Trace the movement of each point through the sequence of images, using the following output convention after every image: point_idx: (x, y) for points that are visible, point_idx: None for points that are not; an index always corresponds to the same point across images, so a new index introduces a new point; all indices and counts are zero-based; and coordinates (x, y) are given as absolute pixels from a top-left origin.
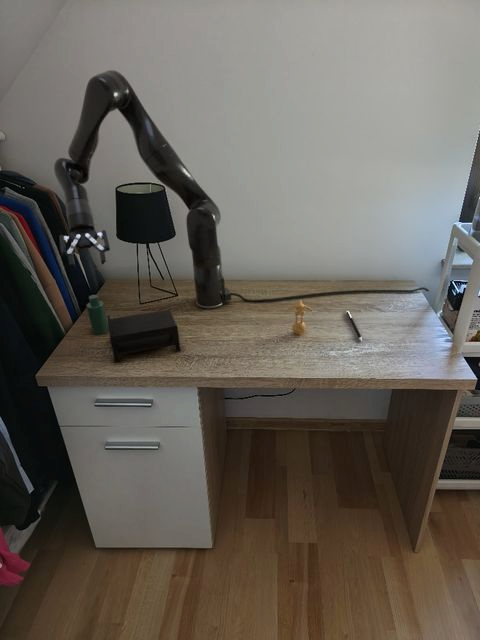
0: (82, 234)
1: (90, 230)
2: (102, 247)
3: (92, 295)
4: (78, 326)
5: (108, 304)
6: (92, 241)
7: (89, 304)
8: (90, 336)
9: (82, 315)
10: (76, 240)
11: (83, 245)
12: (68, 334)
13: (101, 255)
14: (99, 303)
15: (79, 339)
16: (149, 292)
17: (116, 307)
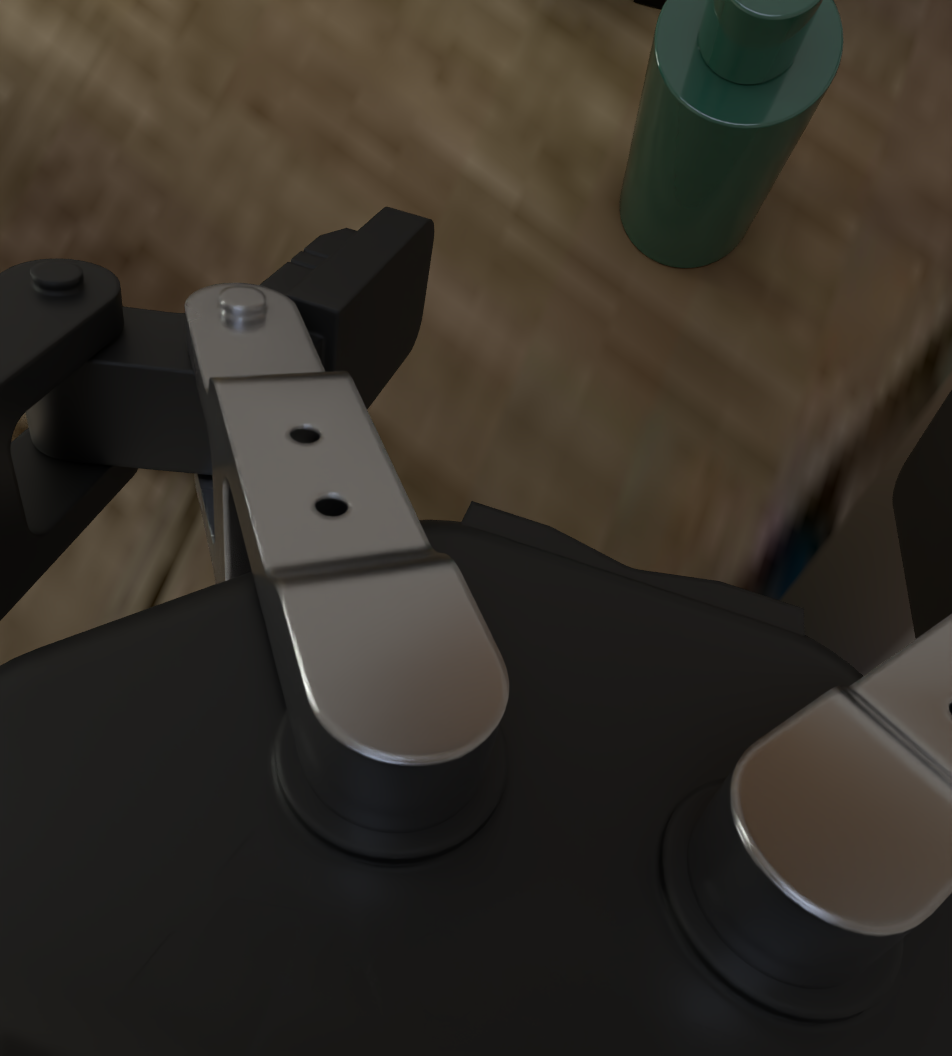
0: (573, 954)
1: (47, 985)
2: (207, 305)
3: (773, 2)
4: (820, 392)
5: None
6: (360, 448)
7: (803, 69)
8: (790, 164)
9: (724, 577)
10: (931, 721)
11: (668, 590)
12: (936, 304)
13: (357, 257)
14: (698, 30)
15: (882, 169)
16: (34, 645)
17: None
